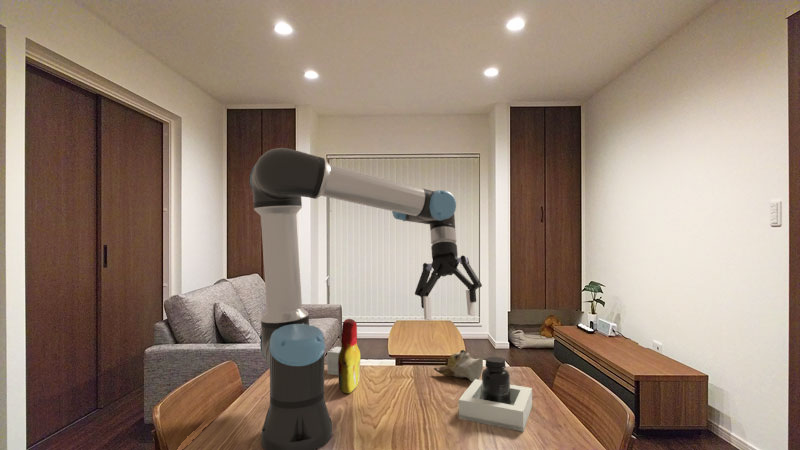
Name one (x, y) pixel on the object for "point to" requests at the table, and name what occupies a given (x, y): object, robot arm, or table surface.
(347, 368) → the bottle
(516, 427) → the holder
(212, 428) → the table surface
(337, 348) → the skincare box
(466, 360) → the ceramic sculpture
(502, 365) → the supplement bottle
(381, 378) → the table surface
